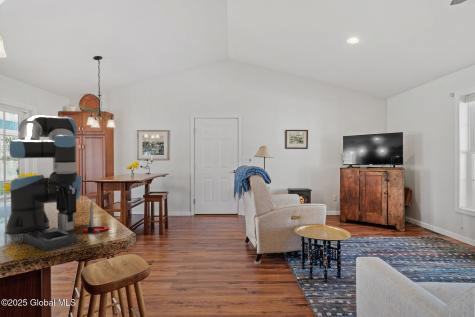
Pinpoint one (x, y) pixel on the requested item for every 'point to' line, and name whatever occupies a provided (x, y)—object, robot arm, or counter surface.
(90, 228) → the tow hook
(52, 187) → the robot arm
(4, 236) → the counter surface
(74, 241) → the dark grey tray
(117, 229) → the counter surface
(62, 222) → the block
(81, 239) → the counter surface
